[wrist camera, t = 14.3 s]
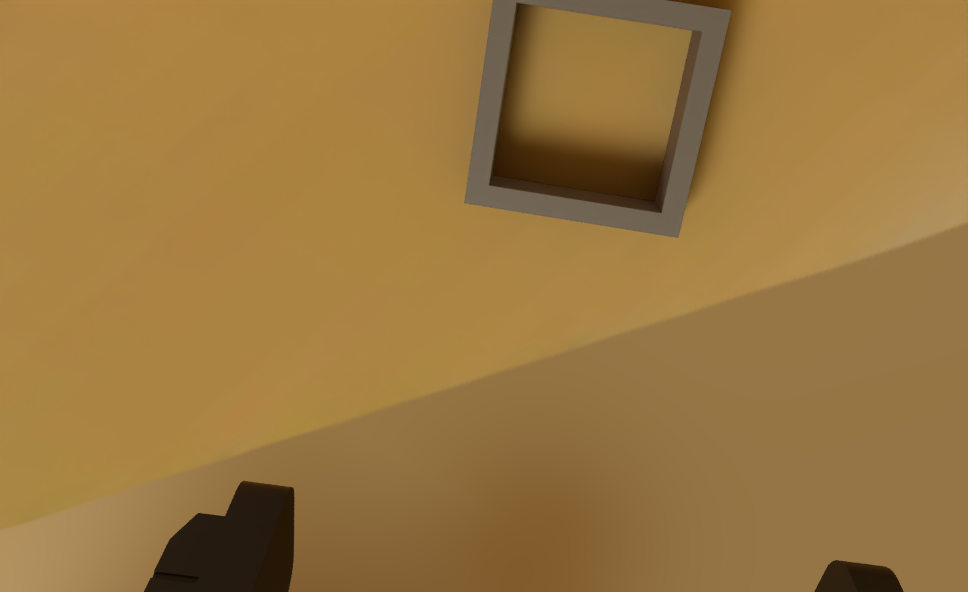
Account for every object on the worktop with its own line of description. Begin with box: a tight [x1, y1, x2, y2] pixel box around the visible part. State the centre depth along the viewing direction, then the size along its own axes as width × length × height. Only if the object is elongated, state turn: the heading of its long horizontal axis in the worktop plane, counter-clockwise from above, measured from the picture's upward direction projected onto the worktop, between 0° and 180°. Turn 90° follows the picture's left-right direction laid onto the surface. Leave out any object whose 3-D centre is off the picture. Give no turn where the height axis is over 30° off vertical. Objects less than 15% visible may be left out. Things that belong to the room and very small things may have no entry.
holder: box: [465, 0, 732, 238], centre depth 37 cm, size 10×10×2 cm
